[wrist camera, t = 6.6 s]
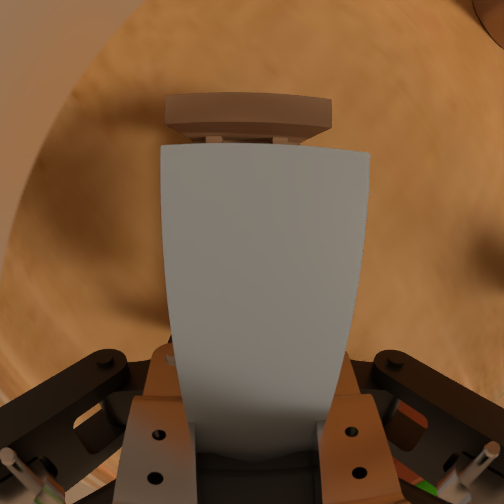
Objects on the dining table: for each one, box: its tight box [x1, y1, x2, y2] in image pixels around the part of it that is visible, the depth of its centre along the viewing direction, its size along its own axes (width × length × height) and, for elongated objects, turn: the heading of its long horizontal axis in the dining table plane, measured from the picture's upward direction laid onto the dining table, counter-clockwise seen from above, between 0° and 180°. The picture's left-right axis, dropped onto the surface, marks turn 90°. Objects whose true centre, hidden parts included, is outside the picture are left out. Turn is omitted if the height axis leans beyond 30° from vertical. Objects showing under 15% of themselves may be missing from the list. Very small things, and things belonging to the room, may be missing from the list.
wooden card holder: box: [164, 92, 332, 146], centre depth 19 cm, size 19×8×9 cm, turn 179°
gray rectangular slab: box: [161, 143, 370, 463], centre depth 9 cm, size 12×2×10 cm, turn 179°
